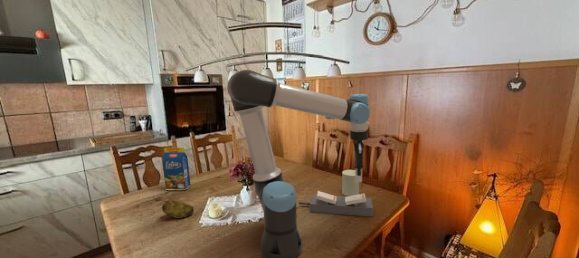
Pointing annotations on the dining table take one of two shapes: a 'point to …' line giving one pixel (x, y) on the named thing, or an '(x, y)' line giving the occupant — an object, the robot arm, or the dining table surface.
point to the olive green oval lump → (177, 209)
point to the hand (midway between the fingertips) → (358, 181)
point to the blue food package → (175, 168)
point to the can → (349, 183)
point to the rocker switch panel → (340, 207)
